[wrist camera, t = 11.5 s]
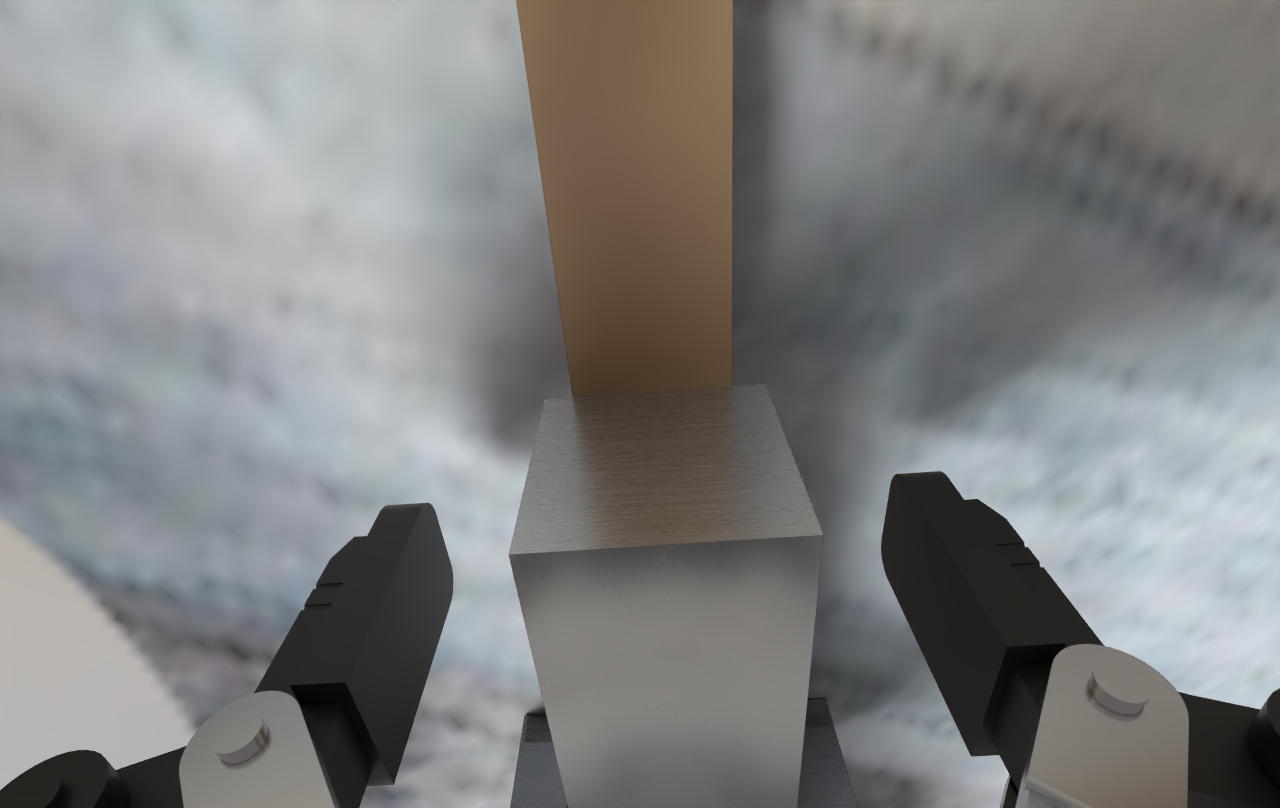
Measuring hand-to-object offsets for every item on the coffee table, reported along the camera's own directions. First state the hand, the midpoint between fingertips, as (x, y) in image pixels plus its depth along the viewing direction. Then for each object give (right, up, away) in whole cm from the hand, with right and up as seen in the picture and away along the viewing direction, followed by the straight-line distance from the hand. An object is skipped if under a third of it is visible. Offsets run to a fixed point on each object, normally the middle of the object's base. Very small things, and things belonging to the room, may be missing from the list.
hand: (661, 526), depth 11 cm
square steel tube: (+1, -7, +5) cm, 9 cm away
